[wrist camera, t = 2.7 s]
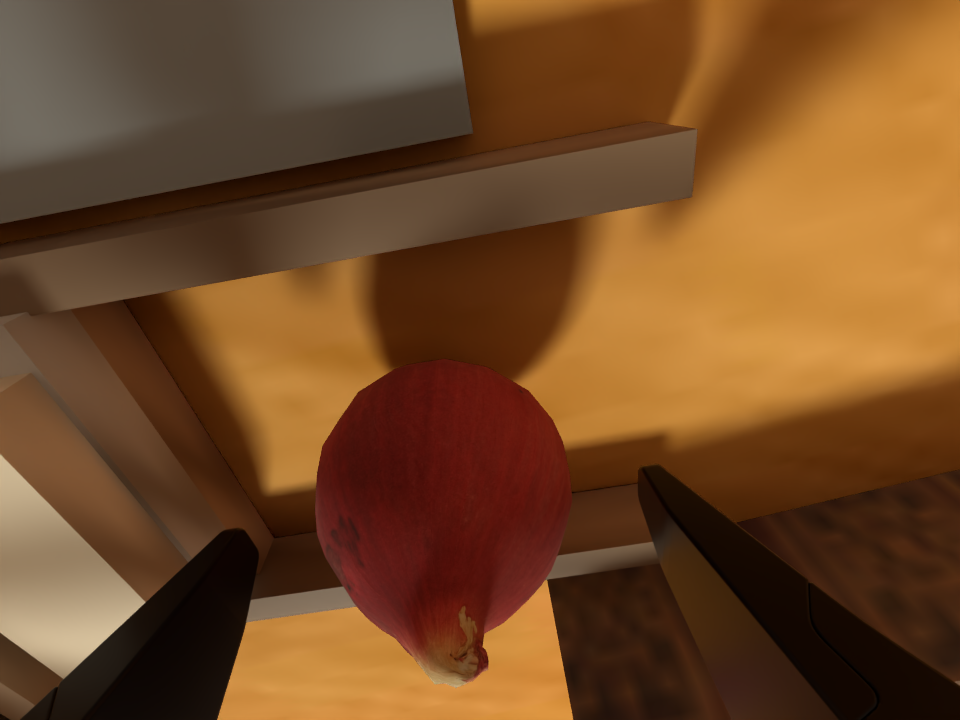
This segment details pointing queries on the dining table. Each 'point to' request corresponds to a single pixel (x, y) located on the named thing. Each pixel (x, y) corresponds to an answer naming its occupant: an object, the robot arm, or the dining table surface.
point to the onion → (442, 508)
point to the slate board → (212, 91)
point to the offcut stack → (98, 480)
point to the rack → (344, 235)
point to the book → (807, 548)
